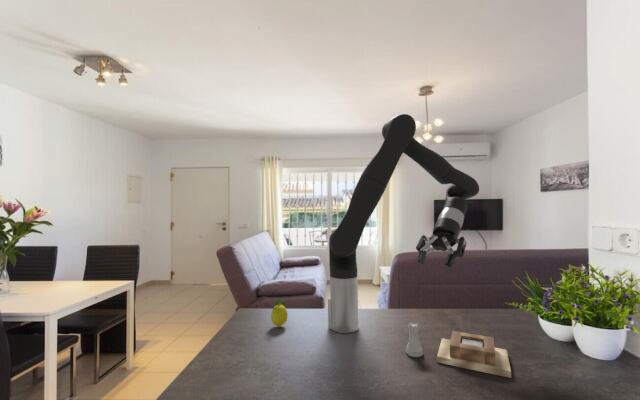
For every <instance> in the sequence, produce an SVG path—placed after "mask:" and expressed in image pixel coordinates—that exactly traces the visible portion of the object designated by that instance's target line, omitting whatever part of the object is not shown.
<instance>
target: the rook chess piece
mask: <svg viewBox="0 0 640 400" xmlns="http://www.w3.org/2000/svg"><path fill="white" fill-rule="evenodd" d="M407 329H408V330H409V331H408V335H409V336H408V337H409V338H408V343H407V345H406V346H405V349H406V350H405V352H406V354H407V356H409V357H411V358H420V357H422V356H423V354H424V352H423V347H422V345H421V342H420V337H419V336H420V333H419V331H420V329H421V327H420V326H419V323H417V322H413V321H412V322H409V323H408V325H407Z"/></svg>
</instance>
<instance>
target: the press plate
mask: <svg viewBox="0 0 640 400" xmlns="http://www.w3.org/2000/svg"><path fill="white" fill-rule="evenodd" d="M462 344H467V345H473V346H478V347H483V342H482V341H476V340H470V339H464V338H462Z"/></svg>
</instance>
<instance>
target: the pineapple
mask: <svg viewBox="0 0 640 400" xmlns="http://www.w3.org/2000/svg"><path fill="white" fill-rule="evenodd" d="M286 307H287V305H286V302H285V301H280V299H278V300H277V301H275V302H274V304H273V308H272V310H271V313H270V321H271V323H272V324H273V325H274V326H277V327H278V328H281V327H282V326H283V325H284V324H286V323H287V321H288V310H287V308H286Z"/></svg>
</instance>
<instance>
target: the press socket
mask: <svg viewBox="0 0 640 400" xmlns="http://www.w3.org/2000/svg"><path fill="white" fill-rule="evenodd" d="M450 336H451V337H450V338H449V339H448V338H443V337H442V338H441V341H440V345H439V348H438V350H437V351H438V352H437V356H436V362H437V363H438V364H444V365H449V366H453V367H457V368H463V369H467V370H471V371H477V372H482V373H486V374H490V375H496V376H501V377H504V378H510V379H512V370H511V364H510V360H509V355H508V350H507V348H500V347H495V342H494V341H495V339H494V337H493V336H486V335H480V334H475V333H468V332H461V331H456V330H452V331H451V335H450ZM462 338H464V339H470V340H476V341H482V342H483V347H478V346H473V345H467V344H462Z"/></svg>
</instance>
